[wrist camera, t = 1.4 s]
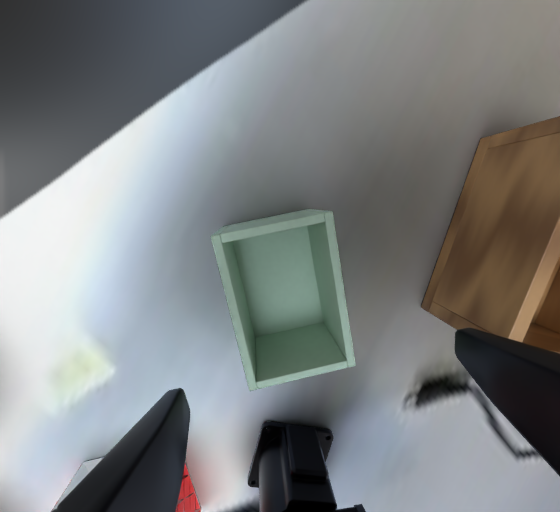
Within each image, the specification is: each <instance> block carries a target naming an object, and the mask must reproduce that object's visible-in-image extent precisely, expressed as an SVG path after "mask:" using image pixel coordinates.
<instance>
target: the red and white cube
mask: <svg viewBox="0 0 560 512" xmlns="http://www.w3.org/2000/svg"><path fill="white" fill-rule="evenodd" d="M103 458H104V457H103ZM103 458H99V459H95V460H91V461H87V462H83V463H82V465H81V466H80V468H79V469H78V471H77V473H76V474H75V476H74V477H73V479H72V480H71V482H70V483H69V485H68V486H67V488H66V489H65V491H64V492H63V494H62V496H61V497H60V499H59V500H58V502H57V503H56V505H55V506H54V508H53V509H52V511H53V510H54V509H57V506H58V505H59V503H60V502H61V501H62V500H63V499H64V498H65V497H66V496H67V495H68V494H69V493H70V492H71V491H72V490H73V489H74V488H75V487H76V486H77V485H78V484H79V483H80V482H81V481H82V480H83V479H84V478H85V477H86V475H87V474H88V473H89V472H90V471H91V470H92V469H93V468H94V467H95V466H96V465H97V464H98V463H99V462H100V461H101V460H102V459H103ZM52 511H51V512H52ZM176 512H201V507H200V504H199V501H198V499H197V496H196V493H195V490H194V487H193V484H192V481H191V478H190V475H189V472H188V469H187V466H186V463H185V466H184V473H183V478H182V483H181V488H180V493H179V498H178V502H177V507H176Z"/></svg>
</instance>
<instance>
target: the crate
mask: <svg viewBox="0 0 560 512" xmlns="http://www.w3.org/2000/svg"><path fill="white" fill-rule="evenodd" d="M421 308H423V309H424V310H426V311H427V312H429V313H431V314H432V315H434V316H436V317H437V318H439V319H440V320H442V321H444V322H445V323H447V324H448V325H450V326H452V327H453V328H455V329H456V330H458V329H463V328H468V327H470V328H474V329H477V330H481V331H484V332H488V333H491V334H495V335H498V336H502V337H505V338H509V339H512V340H516V341H519V342H522V343H526V344H529V345H533V346H536V347H540V348H543V349H547V350H550V351H554V352H557V353H560V116H559V117H555V118H552V119H548V120H545V121H541V122H538V123H534V124H530V125H527V126H523V127H520V128H516V129H513V130H509V131H506V132H502V133H499V134H495V135H492V136H488V137H485V138H481V139H480V142H479V145H478V148H477V151H476V154H475V156H474V159H473V162H472V165H471V168H470V170H469V173H468V176H467V179H466V182H465V184H464V187H463V190H462V193H461V196H460V199H459V201H458V204H457V207H456V210H455V213H454V215H453V218H452V221H451V224H450V227H449V230H448V232H447V235H446V238H445V241H444V244H443V246H442V249H441V252H440V255H439V258H438V261H437V263H436V266H435V269H434V272H433V275H432V277H431V280H430V283H429V286H428V289H427V292H426V294H425V297H424V300H423V303H422V306H421Z"/></svg>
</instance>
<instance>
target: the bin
mask: <svg viewBox="0 0 560 512" xmlns="http://www.w3.org/2000/svg"><path fill="white" fill-rule="evenodd" d="M211 240H212V244H213V248H214V252H215V256H216V260H217V264H218V268H219V272H220V276H221V280H222V284H223V288H224V292H225V296H226V300H227V304H228V308H229V312H230V316H231V320H232V323H233V327H234V331H235V335H236V339H237V343H238V347H239V351H240V355H241V359H242V363H243V367H244V371H245V375H246V379H247V383H248V387H249V390H250V391H253V390H257V388H258V389H261V388H265V387H269V386H273V385H277V384H281V383H286V382H290V381H294V380H298V379H302V378H306V377H310V376H315V375H319V374H323V373H327V372H331V371H335V370H339V369H344V368H347V367H352V366H355V358H354V351H353V345H352V338H351V331H350V325H349V318H348V311H347V304H346V298H345V291H344V284H343V278H342V271H341V264H340V258H339V251H338V244H337V238H336V231H335V224H334V218H333V212H332V211H325V210H315V209H306V210H301V211H296V212H291V213H286V214H281V215H276V216H271V217H266V218H261V219H256V220H251V221H246V222H241V223H237V224H232V225H227V226H223V227H222V228H221V229H219V230H218V231H217V232H216V233H214V234H213V235H212V236H211Z"/></svg>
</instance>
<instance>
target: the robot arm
mask: <svg viewBox="0 0 560 512" xmlns="http://www.w3.org/2000/svg"><path fill="white" fill-rule="evenodd" d="M455 354H456V356H457V358H458V360H459V361H460V362H461V363H462V365H463V366H464V367H465V369H466V370H467V371H468V372H469V374H470V375H471V376H472V378H473V379H474V380H475V381H476V383H477V384H478V385H479V387H480V388H481V389H482V391H483V392H484V393H485V394H486V396H487V397H488V398H489V399H490V400H491V402H492V403H493V404H494V405H495V406H496V407H497V408H498V410H499V411H500V412H501V413H502V414H503V415H504V416H505V417H506V418H507V419H508V420H509V422H510V423H511V424H512V425H513V426H514V427H515V428H516V429H517V430H518V431H519V432H520V434H521V435H522V436H523V437H524V438H525V439H526V440H527V441H528V442H529V443H530V444H531V446H532V447H533V448H534V449H535V450H536V451H537V452H538V453H539V454H540V455H541V456H542V458H543V459H544V460H545V461H546V462H547V463H548V464H549V465H550V466H551V467H552V468H553V469H554V471H555V472H556V473H557V474H558V475H559V476H560V353H557V352H554V351H550V350H547V349H543V348H540V347H536V346H533V345H529V344H526V343H522V342H519V341H516V340H512V339H509V338H505V337H502V336H498V335H495V334H491V333H488V332H484V331H481V330H477V329H474V328H470V327H468V328H463V329H458V330H457V331H456V333H455ZM189 422H190V408H189V405H188V402H187V399H186V396H185V393H184V390H183V389H182V388H178V389H173V390H169V391H168V392H166V393H165V395H164V396H163V397H162V398H161V399H160V400H159V401H158V402H157V403H156V404H155V405H154V406H153V407H152V408H151V409H150V410H149V411H148V412H147V413H146V414H145V415H144V416H143V417H142V418H141V419H140V420H139V422H138V423H137V424H136V425H135V426H134V427H133V428H132V429H131V430H130V431H129V432H128V433H127V434H126V435H125V436H124V437H123V438H122V439H121V440H120V441H119V442H118V443H117V444H116V445H115V446H114V447H113V449H112V450H111V451H110V452H109V453H108V454H107V455H106V456H105V457H104V458H103V459H102V460H101V461H100V462H99V463H98V464H97V465H96V466H95V467H94V468H93V469H92V470H91V471H90V472H89V473H88V474H87V475H86V477H85V478H84V479H83V480H82V481H81V482H80V483H79V484H78V485H77V486H76V487H75V488H74V489H73V490H72V491H71V492H70V493H69V494H68V495H67V496H66V497H65V498H64V499H63V500H62V501H61V502H60V503H59V505H58V506H57V509H54V510H53V511H52V512H176V507H177V502H178V498H179V493H180V488H181V483H182V478H183V473H184V466H185V458H186V449H187V440H188V431H189ZM266 428H269V429H266ZM328 435H329V436H328ZM332 441H333V434H332V431H331V430H329V429H322V428H314V427H307V426H299V425H291V424H284V423H276V422H264V423H263V425H262V427H261V431H260V435H259V438H258V442H257V446H256V449H255V453H254V457H253V461H252V464H251V468H250V472H249V476H248V485H249V486H250V487H257V488H259V503H260V512H366V511H365V509H364V507H363V505H362V504H359V505H354V507H351V508H344V509H337V504H336V500H335V497H334V493H333V490H332V486H331V483H330V479H329V475H328V470H327V466H326V463H325V462H326V459H327V456H328V453H329V450H330V447H331V444H332Z"/></svg>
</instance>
